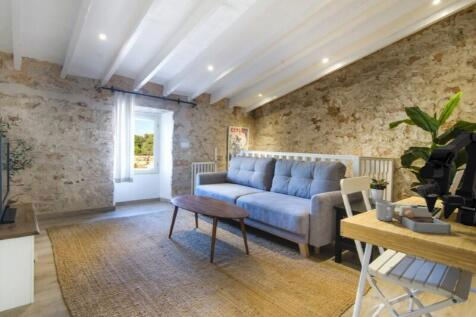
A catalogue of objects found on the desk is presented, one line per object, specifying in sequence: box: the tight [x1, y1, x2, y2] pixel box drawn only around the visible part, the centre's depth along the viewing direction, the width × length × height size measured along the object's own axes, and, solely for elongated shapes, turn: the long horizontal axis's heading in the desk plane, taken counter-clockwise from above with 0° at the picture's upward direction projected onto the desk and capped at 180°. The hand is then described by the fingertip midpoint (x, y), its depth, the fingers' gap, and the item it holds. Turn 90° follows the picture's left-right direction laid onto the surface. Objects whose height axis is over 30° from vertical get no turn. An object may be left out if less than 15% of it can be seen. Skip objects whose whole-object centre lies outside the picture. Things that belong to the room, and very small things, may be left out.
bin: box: [401, 217, 452, 234], centre depth 108 cm, size 14×8×4 cm, turn 87°
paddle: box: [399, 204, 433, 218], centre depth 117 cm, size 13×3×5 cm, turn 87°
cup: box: [375, 200, 397, 222], centre depth 117 cm, size 11×8×8 cm
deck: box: [393, 210, 433, 224], centre depth 118 cm, size 14×13×3 cm
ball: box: [405, 210, 414, 218], centre depth 114 cm, size 4×4×4 cm
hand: (437, 215), depth 108 cm, fingers open, 9 cm apart
